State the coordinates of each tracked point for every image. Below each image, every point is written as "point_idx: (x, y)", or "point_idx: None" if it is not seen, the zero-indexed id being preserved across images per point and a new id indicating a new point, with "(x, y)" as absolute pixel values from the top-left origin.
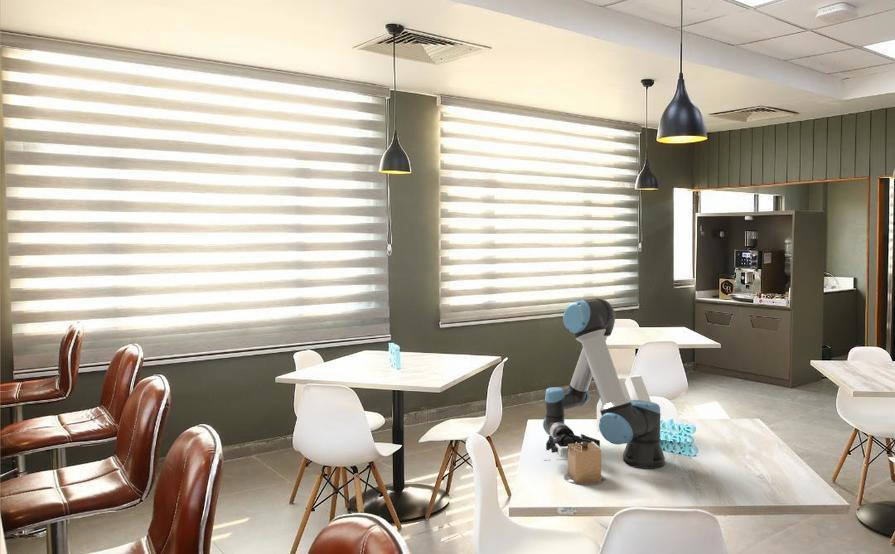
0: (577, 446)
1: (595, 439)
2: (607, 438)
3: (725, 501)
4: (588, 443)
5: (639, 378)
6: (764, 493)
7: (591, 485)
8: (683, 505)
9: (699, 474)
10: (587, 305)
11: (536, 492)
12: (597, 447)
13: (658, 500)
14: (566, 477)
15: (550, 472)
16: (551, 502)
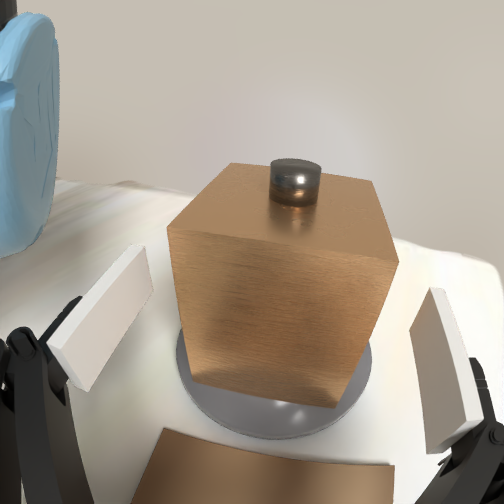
0: (334, 212)
1: (16, 330)
2: (41, 212)
3: (80, 189)
4: (212, 224)
5: None
6: None
7: None
8: (149, 191)
9: None
10: None
11: (468, 311)
12: (213, 180)
13: (168, 208)
14: (357, 373)
15: (398, 494)
16: (428, 259)
